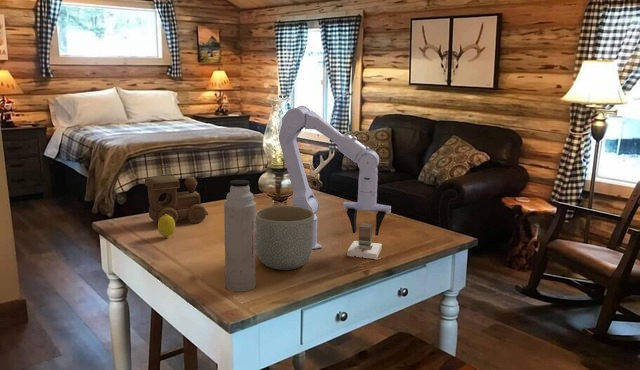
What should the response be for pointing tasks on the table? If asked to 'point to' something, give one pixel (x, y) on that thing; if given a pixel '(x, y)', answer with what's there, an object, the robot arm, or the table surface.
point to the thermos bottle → (240, 237)
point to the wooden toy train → (174, 199)
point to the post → (365, 234)
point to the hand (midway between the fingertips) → (365, 233)
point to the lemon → (166, 225)
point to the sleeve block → (364, 250)
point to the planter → (284, 236)
